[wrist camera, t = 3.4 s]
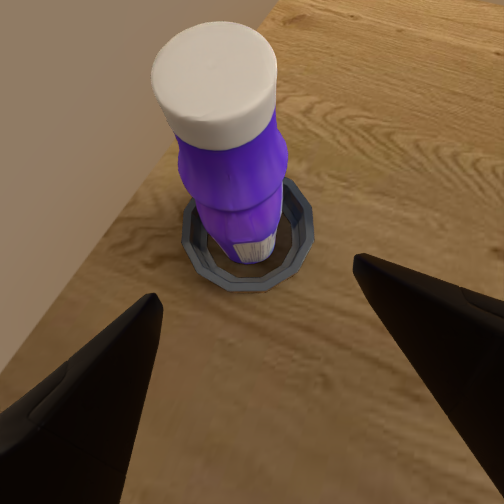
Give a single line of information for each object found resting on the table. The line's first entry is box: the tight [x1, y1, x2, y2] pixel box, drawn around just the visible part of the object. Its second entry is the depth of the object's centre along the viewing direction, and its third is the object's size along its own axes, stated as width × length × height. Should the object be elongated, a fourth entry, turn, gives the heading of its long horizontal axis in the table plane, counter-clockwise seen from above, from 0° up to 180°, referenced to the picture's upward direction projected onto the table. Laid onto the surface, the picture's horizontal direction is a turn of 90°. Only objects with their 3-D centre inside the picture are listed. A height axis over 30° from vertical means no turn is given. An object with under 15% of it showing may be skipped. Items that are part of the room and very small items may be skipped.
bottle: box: [151, 21, 288, 264], centre depth 15 cm, size 7×6×17 cm
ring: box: [181, 177, 315, 293], centre depth 22 cm, size 13×13×4 cm
